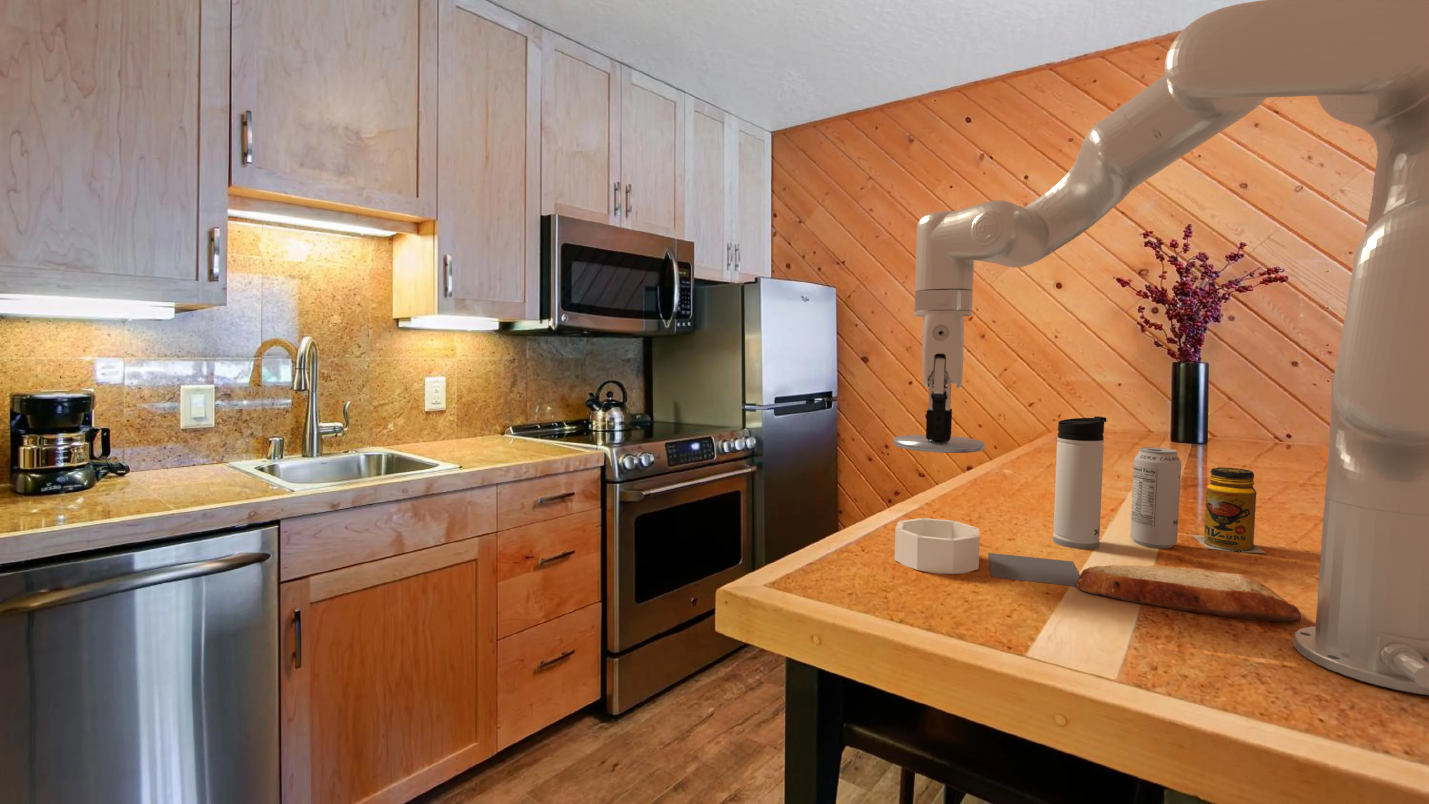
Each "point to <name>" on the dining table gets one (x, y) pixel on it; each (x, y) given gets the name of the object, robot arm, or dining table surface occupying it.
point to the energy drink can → (1155, 497)
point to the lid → (939, 444)
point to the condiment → (1230, 511)
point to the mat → (1033, 569)
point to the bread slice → (1189, 591)
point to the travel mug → (1079, 482)
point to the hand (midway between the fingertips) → (938, 436)
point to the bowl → (937, 546)
